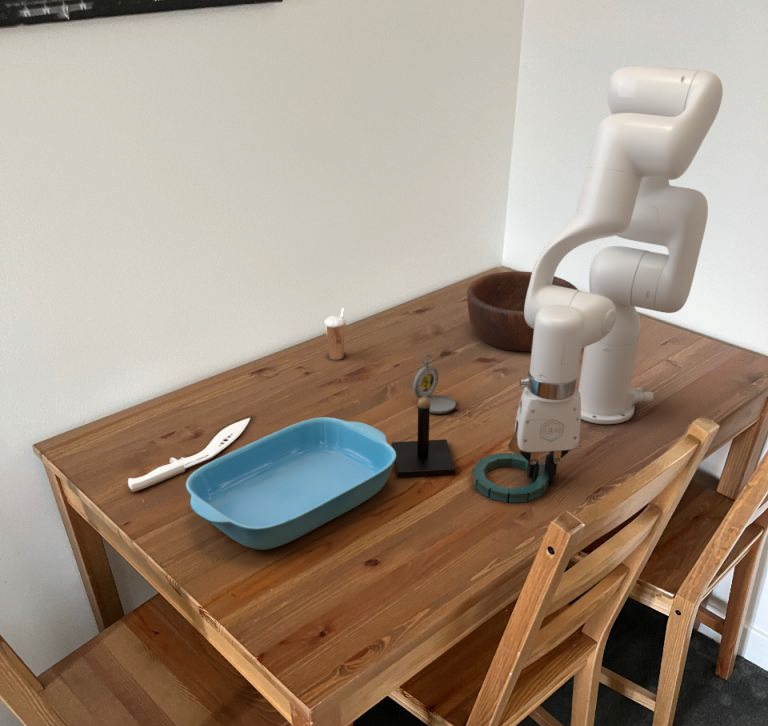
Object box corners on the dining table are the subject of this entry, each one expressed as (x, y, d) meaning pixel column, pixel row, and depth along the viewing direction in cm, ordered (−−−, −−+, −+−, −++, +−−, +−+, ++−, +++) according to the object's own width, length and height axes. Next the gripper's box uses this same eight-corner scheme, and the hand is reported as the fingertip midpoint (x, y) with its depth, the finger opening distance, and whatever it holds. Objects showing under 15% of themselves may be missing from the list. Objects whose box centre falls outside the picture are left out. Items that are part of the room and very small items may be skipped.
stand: (446, 444, 156) (448, 382, 149) (454, 474, 148) (458, 410, 141) (391, 447, 155) (391, 385, 148) (397, 478, 147) (397, 413, 140)
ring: (537, 459, 152) (538, 451, 151) (555, 500, 142) (556, 491, 141) (467, 463, 151) (467, 455, 150) (480, 504, 141) (481, 495, 140)
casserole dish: (333, 436, 159) (331, 402, 155) (420, 483, 146) (421, 447, 142) (164, 520, 138) (157, 483, 134) (249, 583, 125) (244, 545, 121)
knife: (249, 413, 164) (274, 427, 160) (250, 420, 165) (275, 435, 161) (108, 468, 147) (132, 486, 142) (110, 476, 148) (133, 494, 143)
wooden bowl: (584, 358, 185) (590, 313, 179) (468, 358, 185) (471, 313, 179) (565, 312, 205) (571, 270, 199) (461, 312, 205) (463, 270, 199)
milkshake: (353, 353, 187) (351, 310, 181) (339, 363, 183) (337, 319, 178) (336, 349, 189) (334, 306, 183) (322, 358, 185) (319, 314, 180)
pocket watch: (453, 417, 164) (455, 370, 158) (410, 413, 166) (410, 366, 160) (458, 397, 171) (460, 351, 165) (417, 393, 172) (418, 347, 166)
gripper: (508, 397, 132) (499, 494, 143) (607, 392, 133) (591, 489, 144) (498, 375, 138) (490, 470, 149) (593, 370, 139) (579, 465, 150)
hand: (540, 478), depth 147 cm, fingers closed on ring, 2 cm apart
